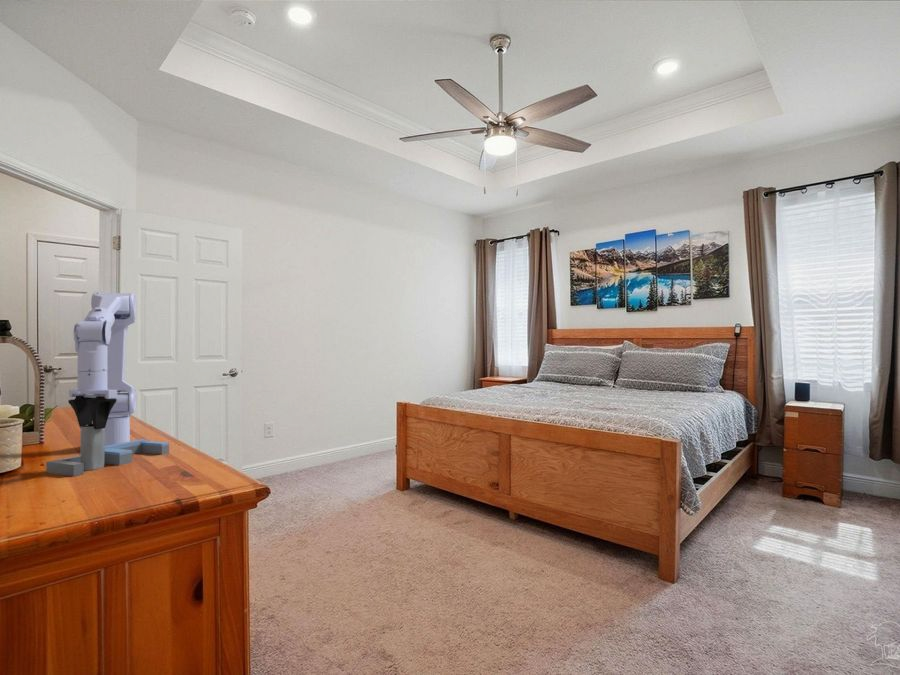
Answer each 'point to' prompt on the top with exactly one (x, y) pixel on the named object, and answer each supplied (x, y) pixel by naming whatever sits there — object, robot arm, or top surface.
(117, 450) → the blue u-shaped bracket
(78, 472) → the grey flat angled piece
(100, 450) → the grey cylinder
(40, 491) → the top surface
